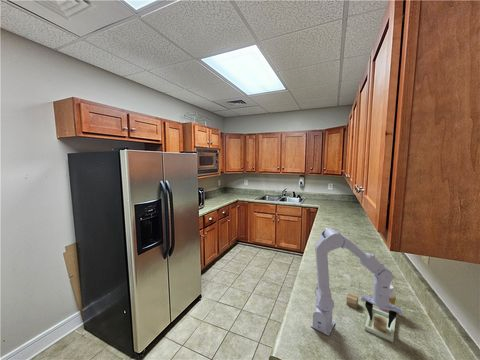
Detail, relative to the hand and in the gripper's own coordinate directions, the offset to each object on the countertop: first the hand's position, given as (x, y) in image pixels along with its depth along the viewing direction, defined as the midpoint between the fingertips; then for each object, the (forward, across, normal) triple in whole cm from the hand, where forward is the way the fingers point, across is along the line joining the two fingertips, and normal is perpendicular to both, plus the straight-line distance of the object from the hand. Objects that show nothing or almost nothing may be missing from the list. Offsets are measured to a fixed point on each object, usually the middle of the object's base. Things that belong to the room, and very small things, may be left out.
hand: (379, 322), depth 89 cm
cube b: (+3, +13, -10) cm, 17 cm away
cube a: (+3, 0, 0) cm, 3 cm away
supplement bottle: (+4, -1, -16) cm, 17 cm away
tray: (+3, 0, -4) cm, 5 cm away
